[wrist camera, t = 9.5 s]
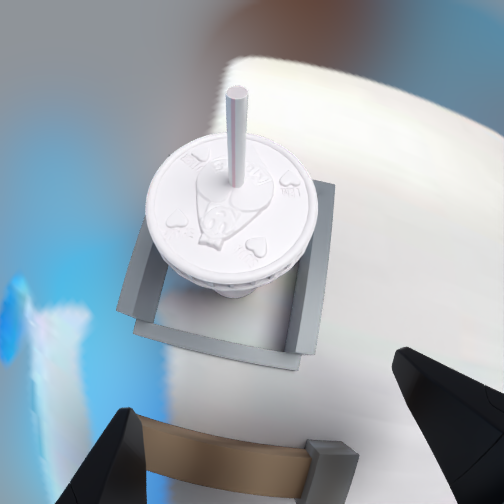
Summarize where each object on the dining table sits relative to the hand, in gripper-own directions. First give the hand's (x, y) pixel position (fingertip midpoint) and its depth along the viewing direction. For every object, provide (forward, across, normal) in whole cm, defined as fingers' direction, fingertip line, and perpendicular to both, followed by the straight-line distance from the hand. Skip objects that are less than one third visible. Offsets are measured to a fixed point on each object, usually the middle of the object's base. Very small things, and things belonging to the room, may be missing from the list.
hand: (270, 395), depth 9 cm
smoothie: (+12, 0, +2) cm, 12 cm away
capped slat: (+3, +4, +10) cm, 11 cm away
